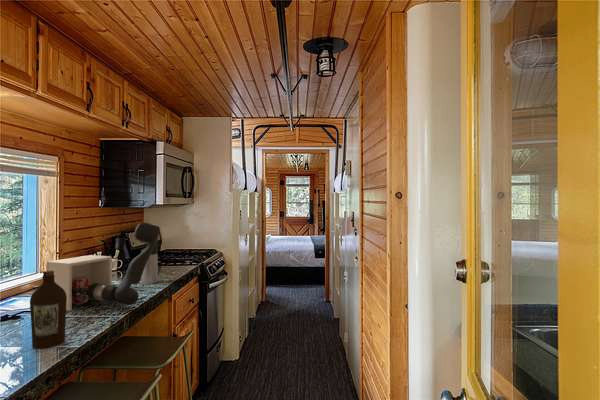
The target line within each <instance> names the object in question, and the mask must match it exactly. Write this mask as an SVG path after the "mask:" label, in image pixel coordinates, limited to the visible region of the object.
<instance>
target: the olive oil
mask: <svg viewBox="0 0 600 400" xmlns="http://www.w3.org/2000/svg"><path fill="white" fill-rule="evenodd" d="M42 274H43V275H42V283H41V284H40V285H39V286H38V287H37V288H36V290H35V291H33V293H32V295H31V296H30V300H29V311H30V324H31V325H30V326H31V344H32V345H31V346H32V347H33V348H34V349H48V348H52V347H56V346H60V345H61V344H63V343H64V342H65V340H66V318H67V317H66V316H67V315H66V314H67V310H66V302H67V296H66V293H65V291H64V289H63V288H61V287H60V286H59V285H58V284H56V283H55V281H54V271H47V270H46V271H45V270H44V271H43V272H42Z"/></svg>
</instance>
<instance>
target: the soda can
mask: <svg viewBox="0 0 600 400" xmlns="http://www.w3.org/2000/svg"><path fill="white" fill-rule="evenodd" d="M83 287H89V285H88V280H87V277H76V278H73V281H72V288H73V289H79V288H83ZM82 290H83V289H81V292H82ZM88 301H89V297H88V296H85V295H80V297H77V296H72V304H74V305H80V304H85V303H87V302H88Z"/></svg>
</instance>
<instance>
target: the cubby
mask: <svg viewBox="0 0 600 400" xmlns="http://www.w3.org/2000/svg"><path fill="white" fill-rule="evenodd" d="M112 259H113V256H110V255H109V256H108V255H98V254H97V255H96V254H88V255H81V256H75V257H70V258H62V259H56V260H49V261H46V271H54V281H55V283H56V284H58V285H59V286H60V287H61V288H63V289H64V291H65V293H66V296H67V302H66V312H67V311H68V312H69V311H70V312H71V311H72V308H73V307H72V304H73V302H72V281H73V278H76V277H87V280H88V285H92V284H94V283H100V284H107V285H112V286H113V272H112V271H113V262H112V261H113V260H112Z"/></svg>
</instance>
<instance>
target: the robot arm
mask: <svg viewBox="0 0 600 400" xmlns="http://www.w3.org/2000/svg"><path fill="white" fill-rule="evenodd" d="M160 231H161V227H160V226H158V225H155V224H152V223H147V222H144V221H143V222H139V224H137V226H136V228H135V230H134V238H135V240H137V241H138V242H140V243H143V244H147V246H146V247H145V248H142V249H141V250H140V253H139V254H138V255H137V256H135V257H134V258H133V259H132V260H131V261H130V263H129V265H128V266H127V270H126V272H125V275H124V277H123V279H122V280H121V281H120V283H119V284H118V286H117V285H113V284H112V285H107V284H100V283H94V284H92V285H89V287H83V288H79V289H73V288H72V296H77V297H80V295H85V296H88V299H91V300H95V301H102V302H103V301H106V302H114V303H119V304H121V305H125V306H132V305H134V304H135V303H137V302H138V300H139V296H140V295H139V293H138V291H137V290H135V289H133V288H132V285H137V284H139V283H141V284H142V285H151V284H152V285H153V284H157V283H158V282H159V280H158V275H159V273H158V272H159V271H158V269H159V266H158V264H159V262H158V253H159V252H158V239H159V236H160ZM81 289H83V290H82V292H81Z"/></svg>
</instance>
